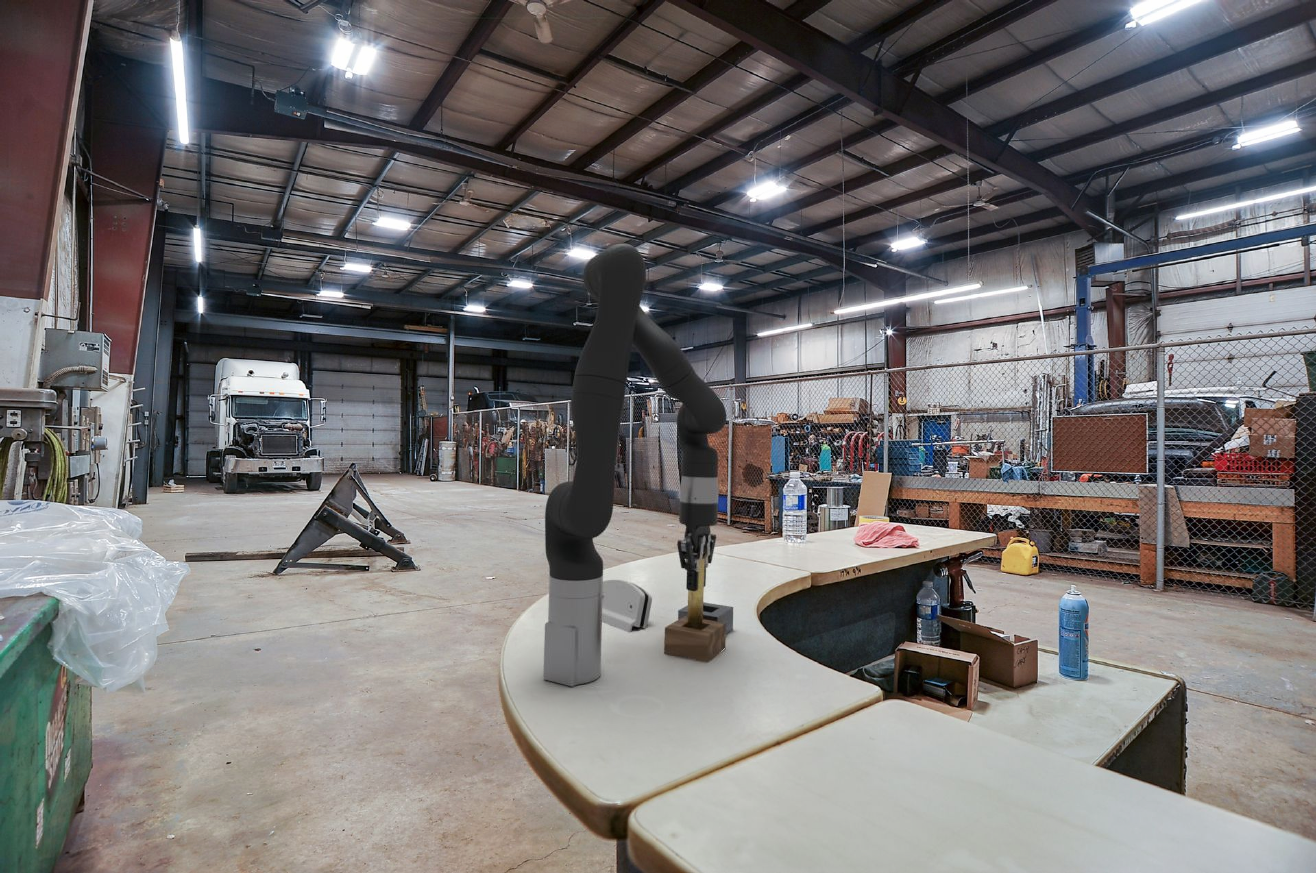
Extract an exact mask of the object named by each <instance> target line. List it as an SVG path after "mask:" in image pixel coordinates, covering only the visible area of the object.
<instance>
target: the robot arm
mask: <svg viewBox="0 0 1316 873" xmlns="http://www.w3.org/2000/svg"><path fill="white" fill-rule="evenodd" d="M582 277H583V278H582V279H583V284H584V287H585V288H586V291H587V292H588V294H589V295H590V297H591V298H592V299H593V300H594V302H595V303H596V304H597V309H596V316H595V319H594V323H593V326H592V328H591V330H590V332H589V335H588V337H587V340H586V341H585V344H584V345H583V348H582V350H581V353H580V356H579V359H578V360H577V364H576V367H575V372H574V377H573V383H572V384H573V385H572V388H571V389H572V390H571V394H570V396H571V398H570V412H571V413H570V414H571V420H572V425H573V426H572V427H573V430H574V435H575V439H576V449H577V450H576V454H577V455H576V462H575V463H576V464H575V469H574V475H573V479H572V481H564V482H561V483H560V484H558V485H556V486H555V487H554V488H553V489H552V490H551V492H550V493H549V495H548V498H547V499H546V500H547V501H546V502H545V503H546V505H545V510H544V512H545V513H544V534H545V535H544V536H545V537H544V539H545V540H544V542H545V544H544V546H545V547H544V548H545V556H546V560H547V564H548V566H549V568H548V570H549V582H548V616H547V618H548V619H547V622H546V623H545V624H544V641H543V643H544V646H543V647H544V648H543V649H544V650H543V680H545V681H550V682H554V683H556V684H561V685H565V686H568V687H575V686H577V685H582V684H586V683H590V682H594V681H596V680H597V679H598V678H599V677H601V674H602V673H601V669H602V632H603V631H602V627H603V626H602V623H603V622H602V593H603V581H604V561H603V558H602V557H601V555H600V554H599V553H598V551H597V550H596V547H595V544H594V539H595V538H597V537H599V536H600V535H602V534H603V533H604V532H605V530H606V529H607V528H608V526H609V524H610V522H611V520H612V516H613V511H614V510H613V509H614V501H615V479H616V478H615V475H616V461H617V460H616V458H617V453H618V452H617V450H618V445H619V444H618V443H619V437H620V429H621V422H622V414H623V410H624V404H625V396H626V390H627V384H628V383H627V382H628V375H629V374H628V372H629V365H630V361H631V354H632V353H631V352H632V348H633V347H634V348H635V350H636V351H637V352H638V353H639V355H640V356H641V358H642V359H643V360H644V362H645V364H646V365H647V367H648V368H649V370H650V371H651V373H652V375H653V376H654V378H655V379H656V381H657V382H658V384H659V385H660V386H661V389H662V390H663V391H664V392H665V393H666V395H667V396H668V397H669V398H672V399H675V400H677V401H679V402H680V403H681V404H680V407H679V409H678V412H677V418H676V428H677V433H678V439H679V444H680V449H681V453H682V459H681V460H682V463H681V481H680V487H679V510H678V512H679V513H678V514H679V516H678V522H679V524H681V525H684V526H685V532H684V538H683V540H679V539H678V540H677V544H676V546H677V552H678V556H679V562H680V568H681V569H684V570H685V571H686V590H687V591H688V590H690V591H697V590H698V579H699V572H698V570H699V563H700V560H701V559H702V558H705V565H704V588H705V587H706V583H707V582H706V581H707V580H706V579H707V568H708V567H709V564H711V563H712V561H713V556H714V551H715V546H716V541H717V540H716V539H717V535H716V534H714V533H713V534H712V533H711V527H713V526H716V525H717V524H718V518H719V515H718V514H719V483H718V482H719V480H718V477H719V476H718V475H719V474H718V472H719V455H718V451H717V449H715V448H714V447H712V446H710V445H709V443H710V442H709V439H708V435H711V434H716V433H719V432H720V431H722V430H723V428H725V425H726V424H727V411H726V407H725V405H724V402H723V401H722V400H721V398H720V397H719V395H717V393H716V392H715V391H714V390H713V389H712V388H711V387H710V386H709V385H708V384H707V383H706V381H704V380H703V379H702V378H701V377H700V376H699V375H698V374H697V373H696V371H695V369H694V367H693V365H692V364H691V362H690V361H689V359H688V357H687V356H686V354H685V352H684V351H683V350H682V348H681V347H680V346H679V345H678V343H677V342H676V341H675V340H674V339H673V338H672V337H671V336H670V335H669V334H668V333H667V332H666V331H665V330H663V329H662V328H661V327H660V326H659V325H658V324H656V323H655V322H654V321H653V319H651V318H650V317H649V316H648V314H647V313H646V312H645V311H644V309H643V308H642V306H641V301H642V297H643V295H644V294H643V293H644V289H645V286H646V280H647V268H646V264H645V259H644V258H643V255H642V254H641V252H640V251H639V250H638V249H637V248H636V247H635V246H633V245H631V244H628V243H617V244H613V245H611V246H609V247H607V248H605V249H604V250H603V251H601V252H600V253H598V254H597V255H595V256H593V257H592V258H591V259H589V261H587V263H586V264H585V266H584V269H583V273H582ZM632 346H633V347H632ZM694 559H695V561H694Z"/></svg>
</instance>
